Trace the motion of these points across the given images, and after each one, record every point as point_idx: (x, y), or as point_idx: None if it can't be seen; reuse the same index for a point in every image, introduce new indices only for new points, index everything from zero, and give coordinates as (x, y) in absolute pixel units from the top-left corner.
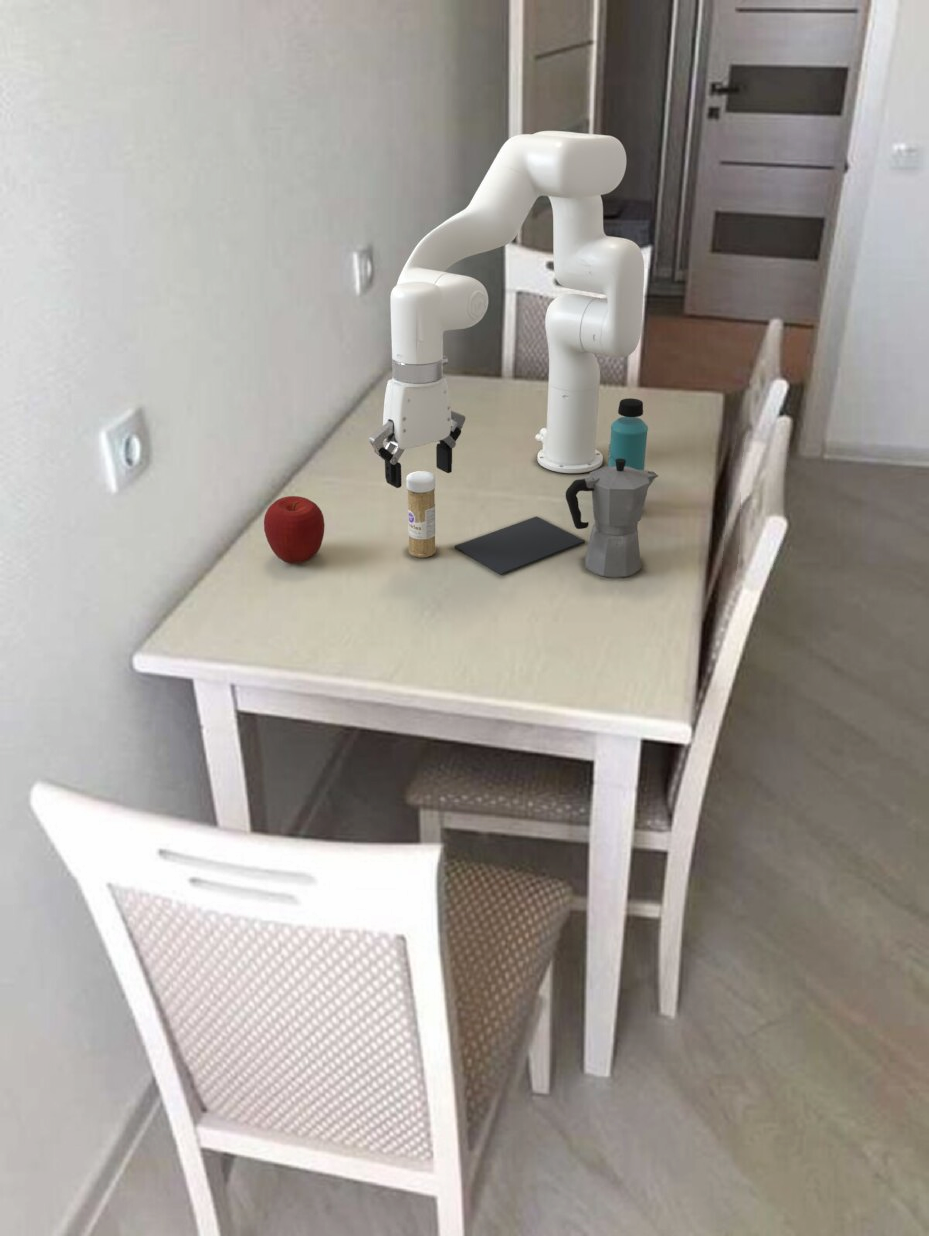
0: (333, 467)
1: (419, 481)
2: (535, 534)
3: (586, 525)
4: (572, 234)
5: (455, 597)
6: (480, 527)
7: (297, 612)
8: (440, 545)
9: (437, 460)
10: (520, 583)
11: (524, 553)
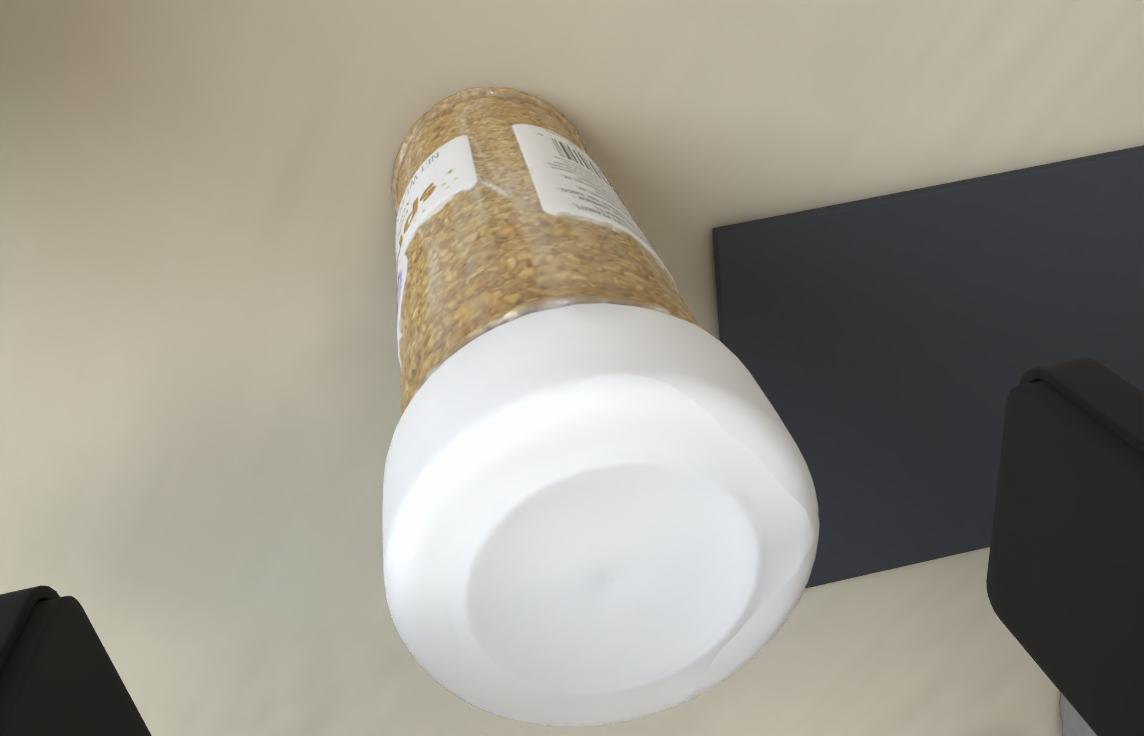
0: None
1: (507, 708)
2: None
3: None
4: None
5: (423, 687)
6: (1045, 26)
7: None
8: (655, 146)
9: (1094, 475)
10: (759, 674)
11: (971, 479)
